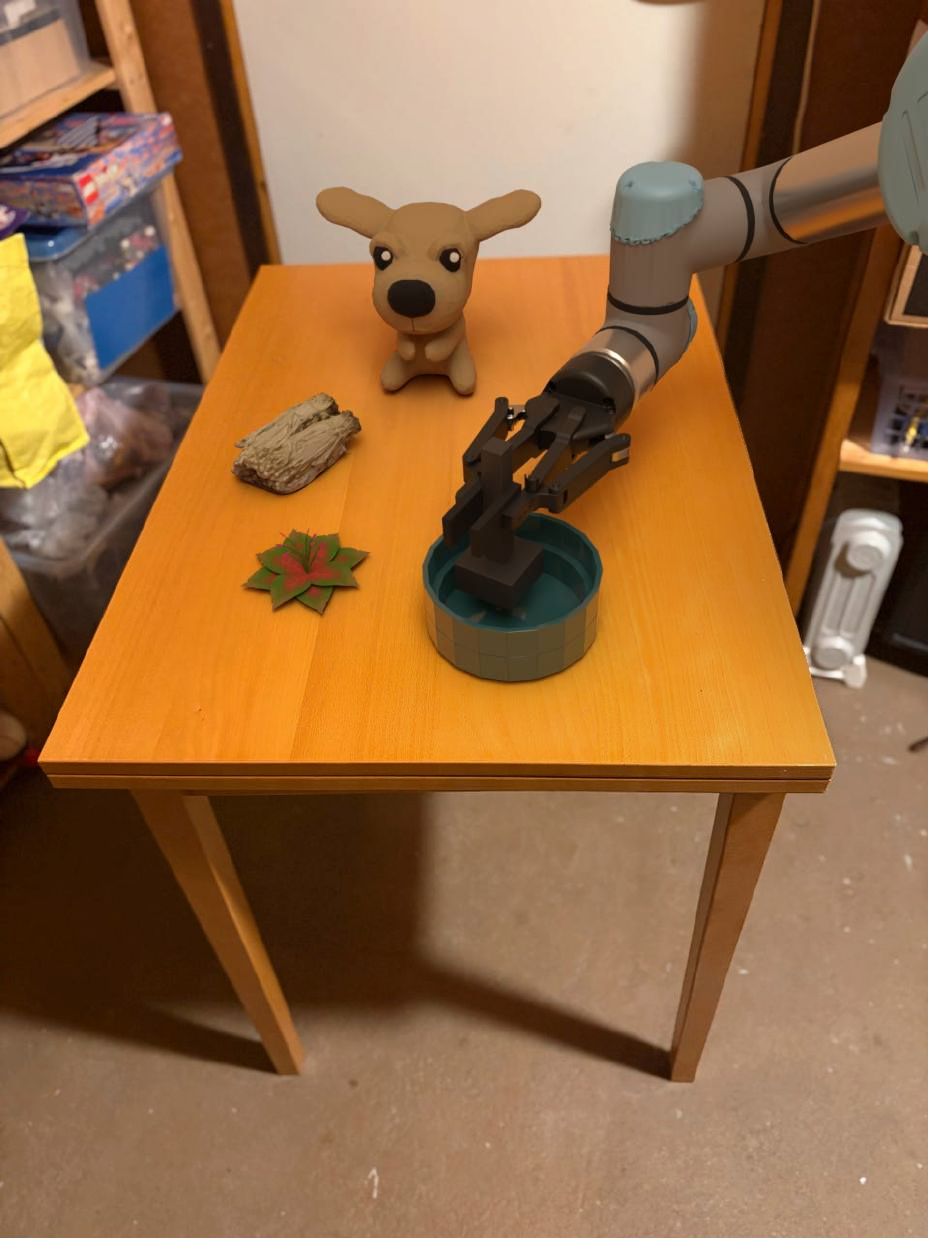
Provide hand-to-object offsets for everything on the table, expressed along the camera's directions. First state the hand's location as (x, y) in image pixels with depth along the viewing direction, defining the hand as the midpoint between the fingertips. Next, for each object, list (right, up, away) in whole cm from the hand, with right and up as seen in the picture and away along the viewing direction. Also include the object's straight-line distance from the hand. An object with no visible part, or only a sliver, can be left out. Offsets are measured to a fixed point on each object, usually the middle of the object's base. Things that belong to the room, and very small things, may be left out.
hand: (461, 537), depth 71 cm
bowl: (+5, -6, +12) cm, 14 cm away
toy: (-3, +24, +42) cm, 48 cm away
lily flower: (-15, -2, +17) cm, 23 cm away
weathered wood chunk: (-17, +11, +30) cm, 37 cm away
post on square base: (+3, -3, +10) cm, 11 cm away
